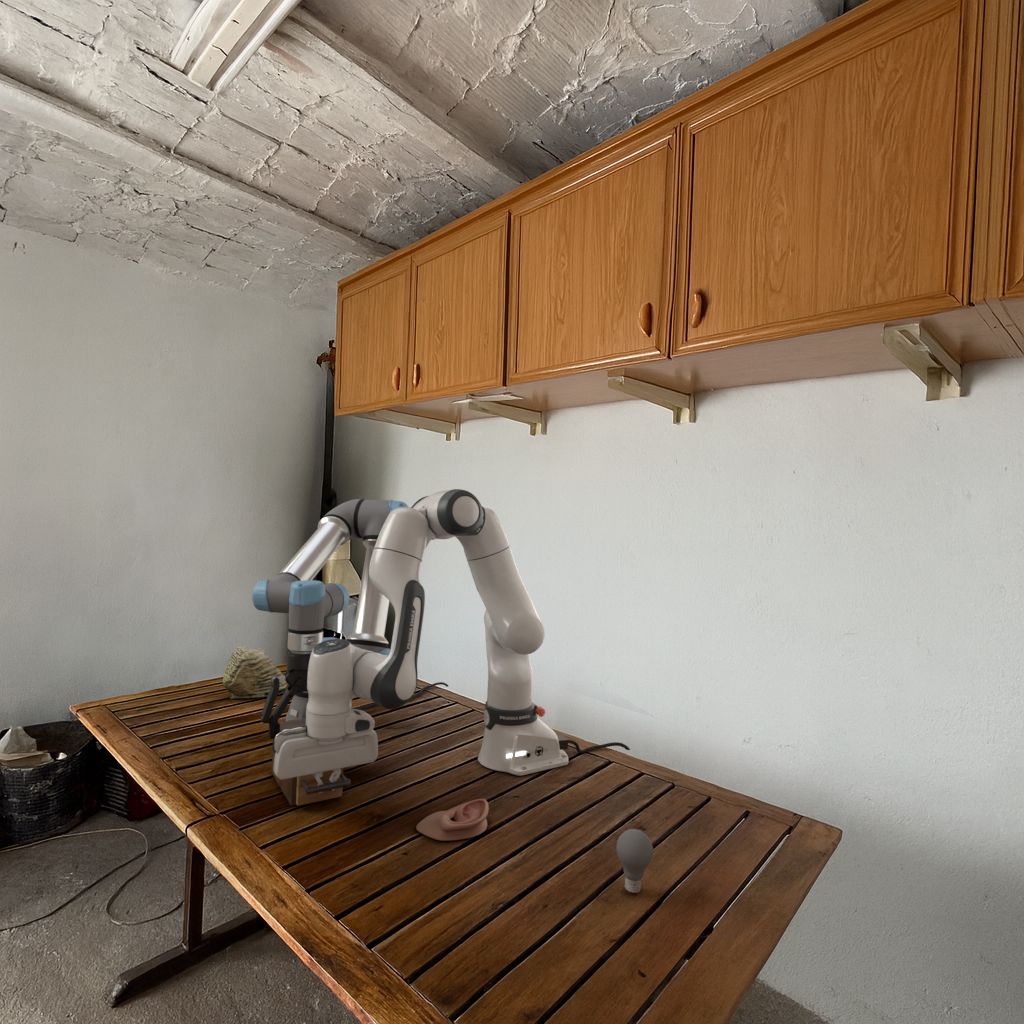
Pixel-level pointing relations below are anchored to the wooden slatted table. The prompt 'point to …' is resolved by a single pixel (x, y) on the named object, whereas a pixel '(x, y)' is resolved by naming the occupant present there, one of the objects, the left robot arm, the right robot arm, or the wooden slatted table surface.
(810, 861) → the wooden slatted table surface
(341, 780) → the drawer
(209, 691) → the wooden slatted table surface
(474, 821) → the anatomical model
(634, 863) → the light bulb
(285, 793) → the cabinet
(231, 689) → the fossil
